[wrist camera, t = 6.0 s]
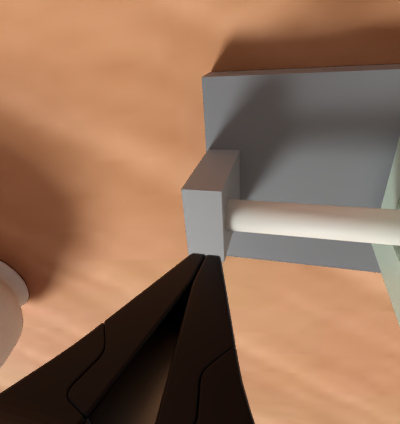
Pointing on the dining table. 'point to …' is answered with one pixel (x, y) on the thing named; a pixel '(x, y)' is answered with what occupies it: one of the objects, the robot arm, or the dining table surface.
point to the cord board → (296, 166)
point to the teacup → (10, 309)
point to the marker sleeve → (391, 254)
